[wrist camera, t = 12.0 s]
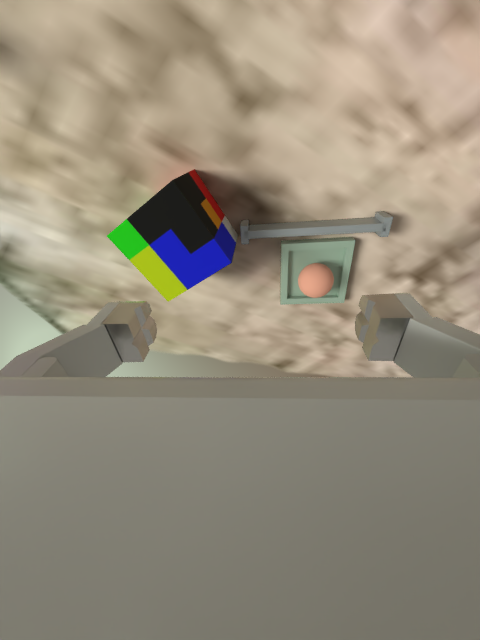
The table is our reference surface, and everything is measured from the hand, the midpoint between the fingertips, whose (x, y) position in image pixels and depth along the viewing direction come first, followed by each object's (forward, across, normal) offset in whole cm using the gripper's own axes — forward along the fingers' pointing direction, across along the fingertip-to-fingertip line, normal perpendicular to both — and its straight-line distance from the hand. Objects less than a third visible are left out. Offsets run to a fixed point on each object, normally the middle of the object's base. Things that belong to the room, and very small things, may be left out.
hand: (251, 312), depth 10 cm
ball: (+26, -8, +12) cm, 30 cm away
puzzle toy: (+29, +10, +4) cm, 31 cm away
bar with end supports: (+29, -7, +5) cm, 30 cm away
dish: (+29, -8, +12) cm, 32 cm away
